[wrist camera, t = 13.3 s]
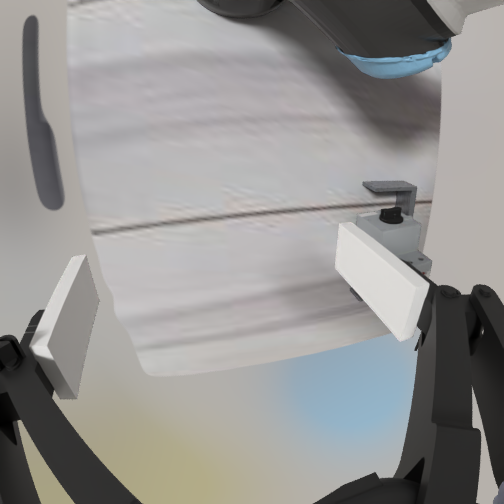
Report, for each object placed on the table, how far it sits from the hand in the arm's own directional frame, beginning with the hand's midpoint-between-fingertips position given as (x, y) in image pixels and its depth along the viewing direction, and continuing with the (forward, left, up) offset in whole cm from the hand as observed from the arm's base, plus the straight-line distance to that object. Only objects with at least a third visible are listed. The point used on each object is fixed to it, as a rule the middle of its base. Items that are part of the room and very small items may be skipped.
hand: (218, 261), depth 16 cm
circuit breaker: (+15, +29, -31) cm, 45 cm away
